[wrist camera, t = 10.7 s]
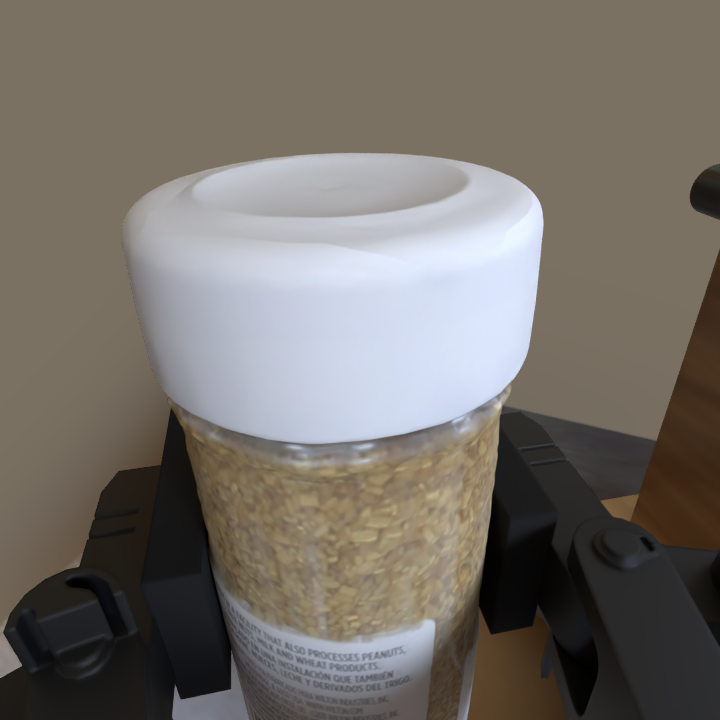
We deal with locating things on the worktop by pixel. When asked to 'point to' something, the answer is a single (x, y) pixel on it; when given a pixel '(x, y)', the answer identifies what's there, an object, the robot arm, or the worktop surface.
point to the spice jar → (341, 410)
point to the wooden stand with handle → (632, 506)
